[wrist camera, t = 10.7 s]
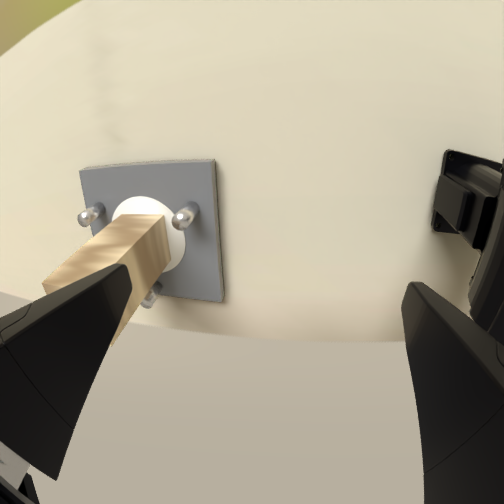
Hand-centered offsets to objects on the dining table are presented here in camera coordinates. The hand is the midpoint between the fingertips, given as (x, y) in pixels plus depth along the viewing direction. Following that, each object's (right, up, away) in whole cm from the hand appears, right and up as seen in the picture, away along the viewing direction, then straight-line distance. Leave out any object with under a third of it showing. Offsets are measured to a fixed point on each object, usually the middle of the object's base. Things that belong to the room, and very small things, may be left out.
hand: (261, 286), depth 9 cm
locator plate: (-9, +3, +15) cm, 18 cm away
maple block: (-9, +2, +14) cm, 17 cm away
